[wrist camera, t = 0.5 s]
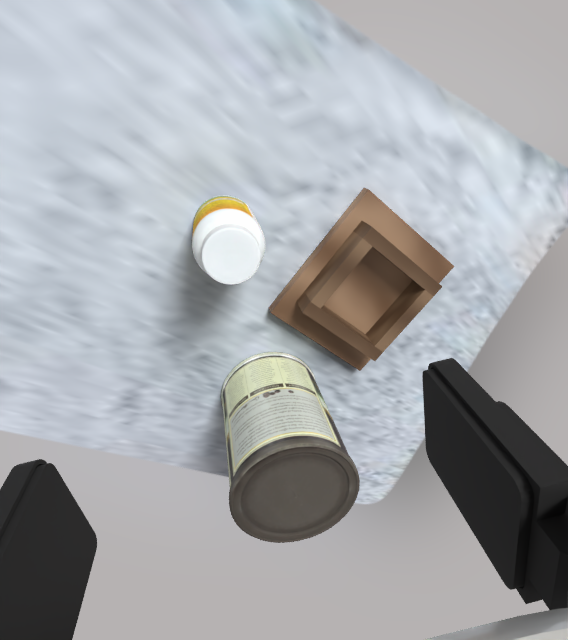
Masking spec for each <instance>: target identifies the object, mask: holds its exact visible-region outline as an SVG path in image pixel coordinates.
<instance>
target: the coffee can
mask: <svg viewBox="0 0 568 640" xmlns="http://www.w3.org/2000/svg"><path fill="white" fill-rule="evenodd" d="M221 401H222V406H223V415H224V426H225V437H226V448H227V460H228V471H229V482H230V492H229V505H230V511H231V515H232V517H233V519H234V521H235V522H236V524H237V525H238V526H239V527H240V528H241V529H242V530H243V531H244V532H246V533H247V534H249V535H251V536H253V537H255V538H258V539H260V540H264V541H268V542H278V543H280V542H282V543H284V542H294V541H299V540H303V539H307V538H310V537H313V536H316V535H318V534H320V533H322V532H324V531H326V530H328V529H329V528H331V527H332V526H334V525H335V524H336V523H337V522H339V521H340V520H341V519H342V518H343V517H344V516H345V515H346V514H347V513H348V512H349V510H350V509H351V507H352V506H353V504H354V502H355V500H356V498H357V495H358V491H359V475H358V471H357V469H356V466H355V464H354V462H353V461H352V459H351V458H350V456H349V455H348V453H347V450H346V448H345V446H344V444H343V441H342V439H341V437H340V435H339V432H338V430H337V428H336V426H335V424H334V422H333V420H332V417H331V415H330V413H329V411H328V408H327V406H326V404H325V402H324V399H323V397H322V395H321V393H320V390H319V388H318V386H317V384H316V381H315V378H314V375H313V373H312V371H311V370H310V369H309V367H308V366H307V365H306V364H305V363H304V362H303V361H302V360H300V359H298V358H296V357H295V356H292V355H289V354H286V353H279V352H267V353H262V354H257V355H254V356H252V357H250V358H248V359H246V360H244V361H242V362H241V363H240V364H238V365H237V366H236V367H235V368H234V369H233V370H232V371H231V372H230V374H229V375H228V376H227V378H226V380H225V382H224V384H223V387H222V392H221Z"/></svg>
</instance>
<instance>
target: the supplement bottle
mask: <svg viewBox="0 0 568 640" xmlns="http://www.w3.org/2000/svg"><path fill="white" fill-rule="evenodd" d="M192 250H193V254H194V257H195V260H196V262H197V263H198V265H199V266H200V268H201V269H202V270H203V271H204V272H206V273H207V274H208V275H209V276H210V277H211V278H213V279H214V280H216V281H217V282H220V283H223V284H227V285H235V284H240V283H243V282H245V281H247V280H248V279H250V278H251V277H252V276H253V275H254V274H255V272H256V271H257V269H258V267H259V265H260V263H261V261H262V259H263V257H264V253H265V238H264V234H263V231H262V229H261V227H260V225H259V223H258V221H257V220H256V218H255V216H254V214H253V212H252V211H251V209H250V208H249V207H248V206H247V205H246V204H245V203H244V202H243V201H241V200H240V199H238V198H235V197H232V196H216V197H212V198H210V199H208V200H207V201H205V202H204V203H203V204H202V205H201V206H200V207H199V209H198V210H197V212H196V215H195V218H194V224H193V236H192Z"/></svg>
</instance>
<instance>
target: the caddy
mask: <svg viewBox="0 0 568 640" xmlns="http://www.w3.org/2000/svg"><path fill="white" fill-rule="evenodd" d="M453 267H454V266H453V265H452V264H451V263H450V262H449V261H448V260H447V259H446V258H444V257H443V256H442V255H441V254H440V253H439V252H438V251H437V250H435V249H434V248H433V247H432V246H431V245H430V244H429V243H428V242H427V241H425V240H424V239H423V238H422V237H421V236H420V235H419V234H418V233H417V232H415V231H414V230H413V229H412V228H411V227H410V226H409V225H408V224H407V223H405V222H404V221H403V220H402V219H401V218H400V217H399V216H398V215H396V214H395V213H394V212H393V211H392V210H391V209H390V208H389V207H388V206H386V205H385V204H384V203H383V202H382V201H381V200H380V199H379V198H378V197H376V196H375V195H374V194H373V193H372V192H371V191H370V190H368V189H366V188H363V190H362V191H361V192H360V193H359V195H358V196H357V197H356V199H355V200H354V201H353V202H352V204H351V205H350V206H349V207H348V209H347V210H346V211H345V212H344V214H343V215H342V216H341V217H340V219H339V220H338V221H337V222H336V224H335V225H334V226H333V227H332V229H331V230H330V231H329V233H328V234H327V235H326V236H325V238H324V239H323V240H322V241H321V243H320V244H319V245H318V246H317V248H316V249H315V250H314V251H313V253H312V254H311V255H310V256H309V258H308V259H307V260H306V262H305V263H304V264H303V265H302V267H301V268H300V269H299V270H298V272H297V273H296V274H295V275H294V277H293V278H292V279H291V280H290V282H289V283H288V284H287V285H286V287H285V288H284V289H283V290H282V292H281V293H280V294H279V296H278V297H277V298H276V299H275V301H274V302H273V303H272V304H271V306H270V307H269V309H270V312H271V313H272V314H273V315H275V316H276V317H278V318H280V319H281V320H283V321H284V322H286V323H287V324H289V325H290V326H292V327H293V328H295V329H296V330H298V331H300V332H301V333H303V334H304V335H306V336H307V337H309V338H310V339H312V340H313V341H315V342H317V343H318V344H320V345H321V346H323V347H324V348H326V349H327V350H329V351H330V352H332V353H333V354H335V355H337V356H338V357H340V358H341V359H343V360H344V361H346V362H347V363H349V364H350V365H352V366H353V367H355V368H357V369H358V370H361V369H362V368H363V367H364V366H365V365H366V364H367V363H368V361H369V360H370V359H372V360H374V361H375V360H376V359H377V358H378V357H379V356H380V355H381V354H382V353H383V352H384V351H385V349H386V348H387V347H388V346H389V345H390V344H391V343H392V342H393V341H394V339H395V338H396V337H397V336H398V335H399V334H400V333H401V332H402V331H403V330H404V328H405V327H406V326H407V325H408V324H409V323H410V322H411V321H412V320H413V318H414V317H415V316H416V315H417V314H418V313H419V312H420V311H421V310H422V309H423V307H424V306H425V305H426V304H427V303H428V302H429V301H430V300H431V299H432V298H433V296H434V295H435V294H436V293H437V292H438V291H439V290H440V289H441V288H442V286H441V285H440V284H439V283H440V282H441V280H442V279H443V278H444V277H445V276H446V275H447V274H448V273H449V272H450V271H451V269H452V268H453Z"/></svg>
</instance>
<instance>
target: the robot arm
mask: <svg viewBox="0 0 568 640" xmlns="http://www.w3.org/2000/svg"><path fill="white" fill-rule="evenodd" d="M423 396H424V416H425V437H426V451H427V455H428V458H429V460H430V462H431V464H432V466H433V467H434V469H435V471H436V472H437V474H438V476H439V477H440V479H441V480H442V482H443V484H444V486H445V487H446V489H447V490H448V492H449V494H450V495H451V497H452V499H453V500H454V502H455V503H456V505H457V507H458V508H459V510H460V512H461V513H462V515H463V517H464V518H465V520H466V521H467V523H468V525H469V526H470V528H471V530H472V531H473V533H474V535H475V536H476V538H477V539H478V541H479V543H480V544H481V546H482V547H483V549H484V551H485V553H486V554H487V556H488V557H489V559H490V561H491V562H492V564H493V566H494V567H495V569H496V571H497V572H498V574H499V575H500V577H501V579H502V580H503V582H504V583H505V585H506V586H507V587H508V588H509V589H515V588H516V589H517V591H518V592H519V594H520V595H521V597H522V598H523V600H524V602H525V603H526V604H528V603H532V602H535V601H539V600H542V599H543V601H544V602H545V603H546V605H547V607H548V608H549V611H544V612H539V613H533V614H528V615H523V616H517V617H514V618H510V619H506V620H502V621H498V622H493V623H489V624H486V625H481V626H477V627H474V628H469V629H465V630H461V631H457V632H453V633H449V634H445V635H441V636H437V637H434V638H430V639H426V640H568V466H567V465H566V464H565V463H564V462H563V461H562V460H561V459H560V458H559V457H558V456H557V455H556V454H555V453H554V452H553V451H552V450H551V449H550V448H549V447H548V446H547V445H546V444H545V443H544V441H543V440H542V439H540V438H539V436H537V434H536V433H534V431H532V430H531V428H530V427H529V426H528V425H526V423H525V422H524V421H523V420H522V419H521V418H519V416H518V415H517V414H516V413H515V412H514V411H513V410H512V409H511V408H510V407H509V406H507V405H506V404H505V403H503V402H500V401H499V402H495V401H494V400H493V399H492V398H491V397H490V396H489V395H488V393H486V392H485V390H484V389H483V388H482V387H481V386H480V385H479V384H478V383H477V382H476V381H475V380H474V379H473V378H472V377H471V376H470V375H469V374H468V373H467V372H466V371H465V370H464V369H463V367H462V366H461V365H460V364H459V363H458V362H457V361H456V360H454V359H453V358H450V359H446V360H441V361H437V362H433V363H430V364H429V366H428V370H425V371H423ZM96 548H97V538H96V535H95V532H94V531H93V529H92V527H91V526H90V524H89V522H88V521H87V519H86V517H85V516H84V514H83V512H82V511H81V509H80V507H79V506H78V504H77V502H76V501H75V499H74V497H73V496H72V494H71V492H70V491H69V489H68V487H67V486H66V484H65V483H64V481H63V479H62V477H61V476H60V474H59V472H58V471H57V469H56V468H55V466H54V465H53V464H51V463H48V464H47V463H46V461H44V460H42V459H39V460H35V461H31V462H27V463H23V464H19V465H16V466H14V468H13V469H12V470H11V472H10V474H9V475H8V477H7V479H6V481H5V482H4V484H3V486H2V488H1V489H0V640H72V638H73V634H74V630H75V627H76V623H77V620H78V616H79V612H80V608H81V604H82V601H83V597H84V593H85V590H86V586H87V582H88V579H89V575H90V571H91V567H92V564H93V560H94V556H95V552H96Z"/></svg>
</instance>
